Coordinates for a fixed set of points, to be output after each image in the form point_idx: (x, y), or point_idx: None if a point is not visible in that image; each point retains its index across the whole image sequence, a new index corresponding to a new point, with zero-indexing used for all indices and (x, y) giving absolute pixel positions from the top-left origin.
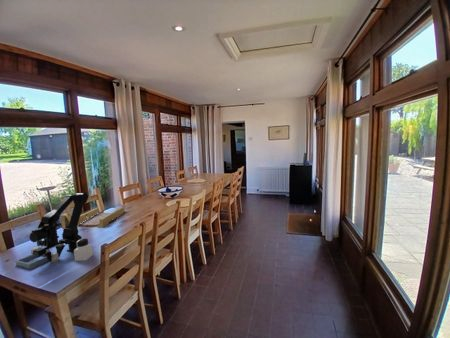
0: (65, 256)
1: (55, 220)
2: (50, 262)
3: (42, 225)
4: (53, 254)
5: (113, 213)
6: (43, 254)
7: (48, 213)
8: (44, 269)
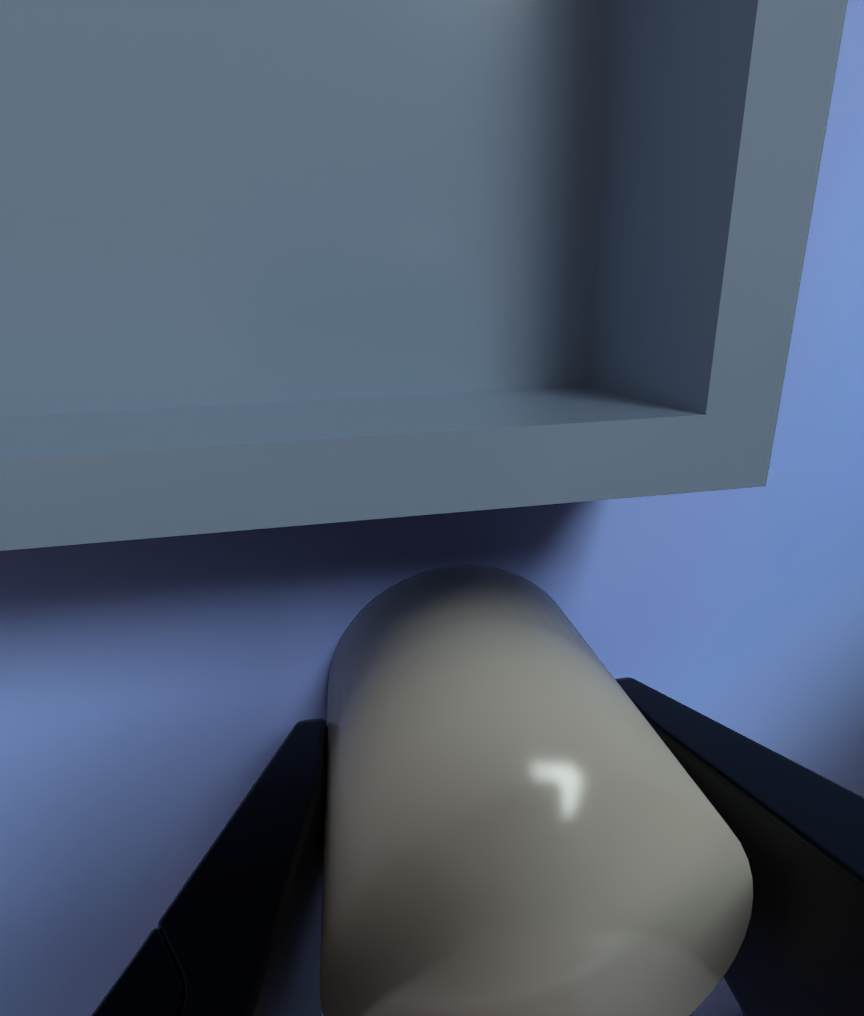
0: (783, 650)
1: None
2: (329, 693)
3: None
4: (529, 964)
5: None
6: None
7: None
8: (11, 950)
